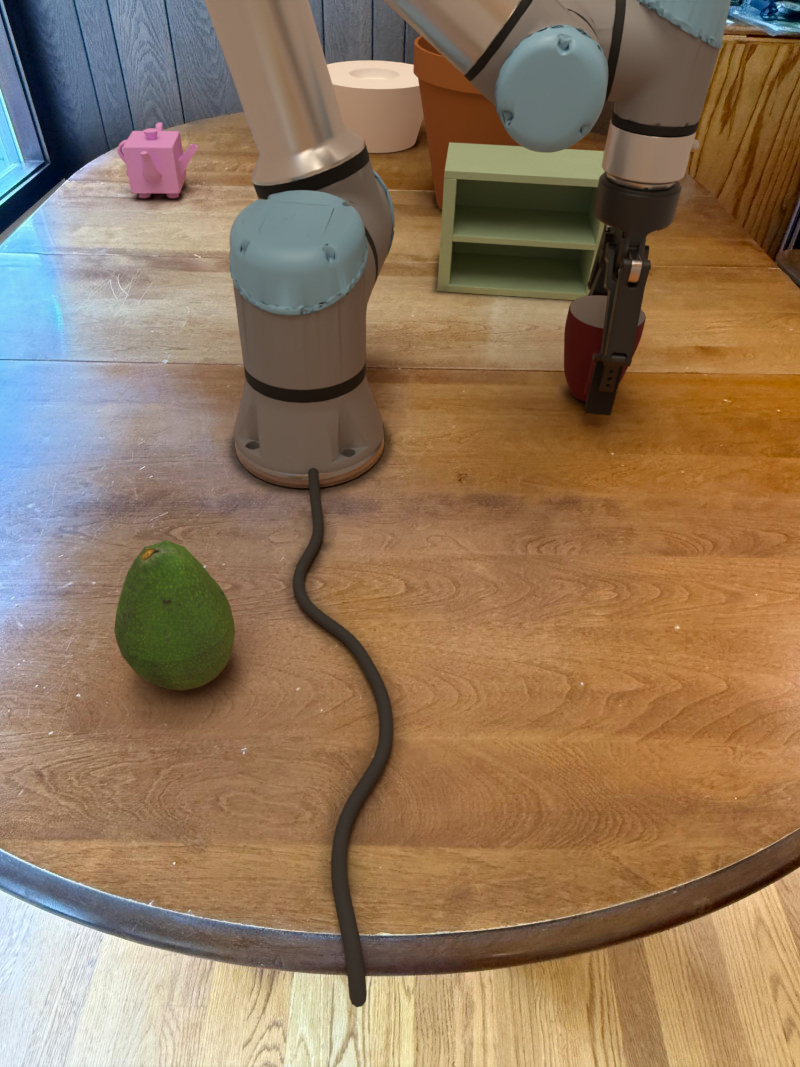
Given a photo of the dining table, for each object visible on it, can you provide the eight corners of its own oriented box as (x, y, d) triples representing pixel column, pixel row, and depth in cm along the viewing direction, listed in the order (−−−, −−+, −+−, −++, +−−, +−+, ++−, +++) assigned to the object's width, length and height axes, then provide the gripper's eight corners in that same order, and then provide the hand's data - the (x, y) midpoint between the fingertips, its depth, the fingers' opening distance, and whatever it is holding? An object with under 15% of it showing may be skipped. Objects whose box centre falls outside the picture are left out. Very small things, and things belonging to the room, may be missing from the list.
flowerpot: (381, 188, 138) (382, 33, 122) (512, 169, 148) (529, 24, 132) (461, 245, 120) (475, 72, 104) (604, 219, 130) (637, 57, 114)
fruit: (157, 734, 54) (120, 621, 46) (115, 660, 59) (75, 546, 51) (259, 681, 58) (241, 567, 50) (212, 616, 62) (189, 502, 54)
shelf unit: (596, 301, 107) (621, 180, 96) (437, 291, 108) (444, 170, 97) (588, 266, 116) (611, 151, 105) (441, 256, 117) (449, 142, 106)
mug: (629, 429, 83) (653, 345, 77) (554, 421, 84) (571, 338, 77) (620, 378, 91) (641, 298, 84) (551, 372, 92) (567, 291, 85)
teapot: (197, 210, 128) (188, 146, 121) (116, 210, 127) (102, 145, 120) (209, 174, 141) (201, 115, 134) (135, 174, 140) (123, 114, 133)
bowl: (383, 117, 172) (383, 55, 164) (456, 144, 159) (460, 78, 151) (292, 135, 161) (288, 69, 152) (363, 166, 147) (363, 95, 139)
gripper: (708, 226, 63) (640, 448, 77) (663, 142, 80) (614, 337, 94) (614, 219, 63) (565, 441, 78) (589, 137, 80) (553, 332, 95)
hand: (592, 384), depth 86 cm, fingers closed on mug, 10 cm apart
